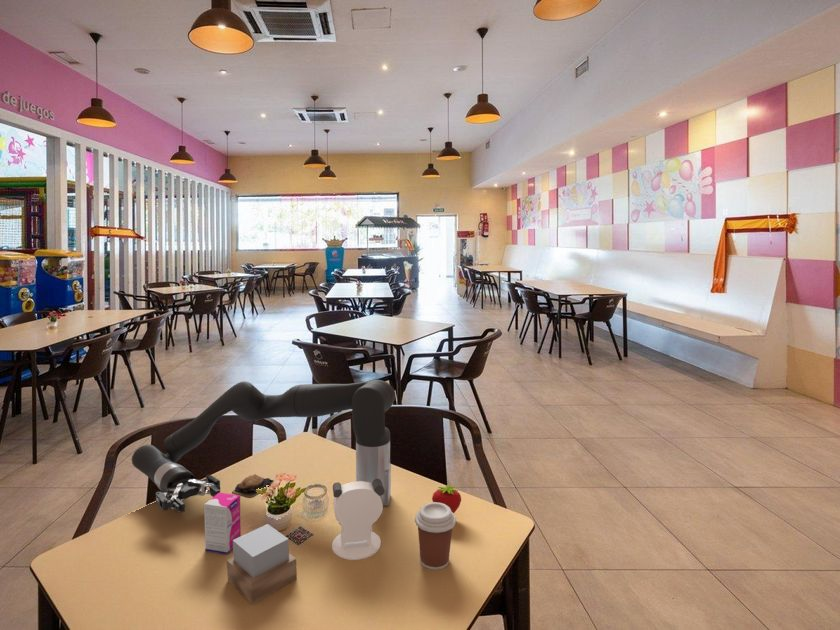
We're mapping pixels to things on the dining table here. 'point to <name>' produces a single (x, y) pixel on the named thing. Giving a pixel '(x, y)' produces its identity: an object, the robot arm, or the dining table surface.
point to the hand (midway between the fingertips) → (201, 501)
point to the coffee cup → (435, 534)
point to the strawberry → (447, 497)
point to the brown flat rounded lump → (251, 486)
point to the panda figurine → (357, 518)
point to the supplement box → (222, 522)
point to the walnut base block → (261, 579)
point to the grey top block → (260, 550)
